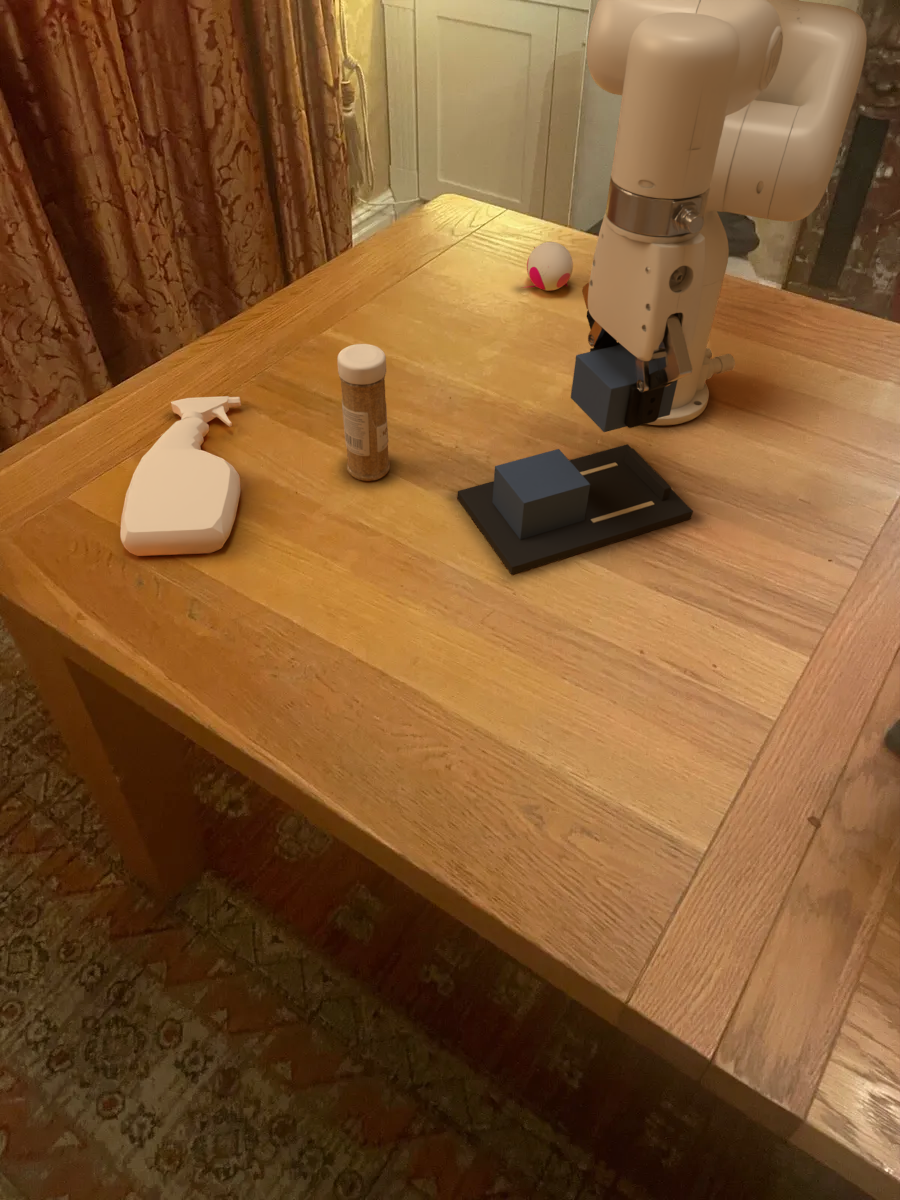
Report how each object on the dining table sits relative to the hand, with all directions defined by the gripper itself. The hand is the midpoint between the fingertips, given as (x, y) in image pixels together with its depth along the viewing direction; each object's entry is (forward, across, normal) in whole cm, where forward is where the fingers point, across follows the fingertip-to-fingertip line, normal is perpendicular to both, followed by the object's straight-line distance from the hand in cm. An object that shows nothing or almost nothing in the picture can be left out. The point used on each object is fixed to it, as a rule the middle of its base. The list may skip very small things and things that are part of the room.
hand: (620, 401), depth 83 cm
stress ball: (+12, +42, -16) cm, 47 cm away
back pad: (0, 0, 0) cm, 0 cm away
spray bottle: (+12, +20, +37) cm, 44 cm away
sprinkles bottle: (+12, +14, +20) cm, 27 cm away
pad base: (+12, 0, +3) cm, 12 cm away
